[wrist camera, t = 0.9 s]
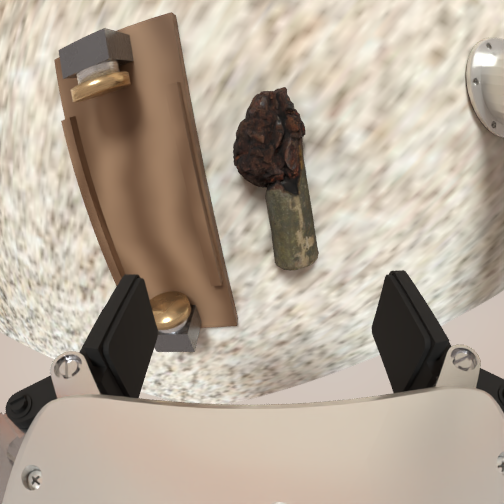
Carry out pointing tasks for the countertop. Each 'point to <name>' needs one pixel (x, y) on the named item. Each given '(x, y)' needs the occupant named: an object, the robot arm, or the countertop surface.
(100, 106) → the cradle
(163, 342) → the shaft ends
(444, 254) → the countertop surface
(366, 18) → the countertop surface
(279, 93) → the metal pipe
